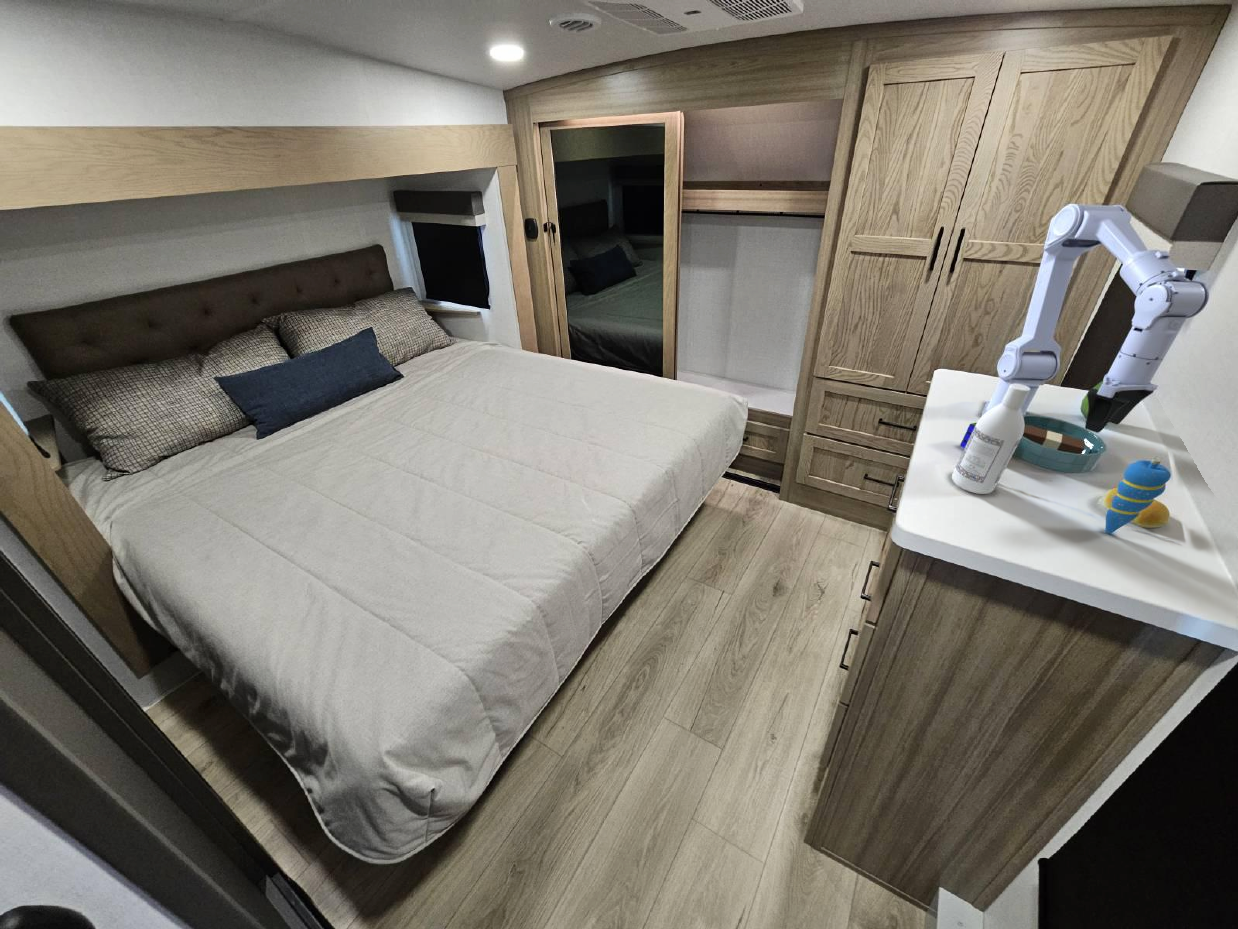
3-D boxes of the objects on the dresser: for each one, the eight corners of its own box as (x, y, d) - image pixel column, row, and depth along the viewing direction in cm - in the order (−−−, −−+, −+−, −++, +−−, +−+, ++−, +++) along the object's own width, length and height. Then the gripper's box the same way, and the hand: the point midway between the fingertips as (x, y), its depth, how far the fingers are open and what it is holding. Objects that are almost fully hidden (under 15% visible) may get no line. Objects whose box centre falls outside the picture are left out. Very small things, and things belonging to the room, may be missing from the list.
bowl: (1004, 425, 116) (1013, 407, 113) (1094, 450, 107) (1106, 431, 105) (994, 454, 105) (1004, 436, 103) (1093, 485, 97) (1106, 465, 94)
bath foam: (979, 473, 99) (1027, 378, 88) (1001, 495, 93) (1055, 396, 82) (943, 473, 99) (987, 377, 88) (963, 494, 93) (1012, 395, 82)
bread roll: (1158, 537, 85) (1174, 518, 83) (1092, 510, 90) (1105, 492, 88) (1167, 516, 89) (1182, 498, 87) (1103, 492, 95) (1115, 475, 93)
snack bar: (1016, 446, 107) (1024, 432, 105) (1018, 438, 110) (1026, 424, 108) (1075, 463, 102) (1084, 449, 100) (1076, 454, 105) (1085, 440, 103)
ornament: (1114, 546, 83) (1172, 469, 74) (1080, 526, 87) (1131, 452, 78) (1132, 538, 84) (1191, 462, 76) (1098, 519, 88) (1150, 445, 80)
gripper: (1153, 368, 82) (1110, 443, 88) (1188, 355, 88) (1145, 427, 95) (1100, 355, 87) (1063, 427, 94) (1137, 344, 93) (1100, 412, 100)
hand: (1101, 426), depth 95 cm, fingers open, 7 cm apart
